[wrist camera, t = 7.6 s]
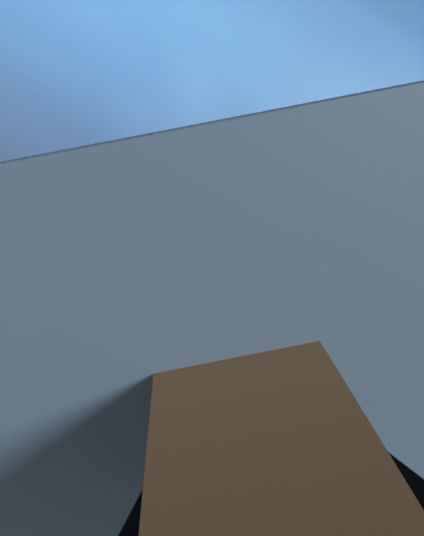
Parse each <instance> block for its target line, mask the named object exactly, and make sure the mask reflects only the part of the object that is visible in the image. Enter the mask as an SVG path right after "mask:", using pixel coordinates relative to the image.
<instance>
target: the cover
mask: <svg viewBox="0 0 424 536" xmlns="http://www.w3.org/2000/svg"><path fill="white" fill-rule="evenodd" d="M388 452H389V453H391V454H392V455H393V456H394V457H396V458H397V459H398V460H400V461H401V462H402V463H404V464H405V465H406V466H408V467H409V468H410V469H411V470H413V471H414V472H415V473H417V474H418V475H419V476H421V477H422V478H423V479H424V81H418V82H413V83H408V84H403V85H398V86H392V87H387V88H382V89H377V90H372V91H366V92H361V93H356V94H351V95H346V96H340V97H335V98H330V99H325V100H320V101H314V102H309V103H304V104H299V105H294V106H289V107H283V108H278V109H273V110H268V111H263V112H257V113H252V114H247V115H242V116H237V117H231V118H226V119H221V120H216V121H211V122H205V123H200V124H195V125H190V126H185V127H179V128H174V129H169V130H164V131H159V132H153V133H148V134H143V135H138V136H133V137H128V138H122V139H117V140H112V141H107V142H102V143H96V144H91V145H86V146H81V147H76V148H70V149H65V150H60V151H55V152H50V153H44V154H39V155H34V156H29V157H24V158H18V159H13V160H8V161H3V162H0V536H118V535H119V533H120V531H121V529H122V527H123V525H124V523H125V521H126V519H127V518H128V516H129V514H130V512H131V510H132V508H133V506H134V504H135V502H136V500H137V498H138V497H139V495H140V493H141V491H142V489H143V493H142V503H141V514H140V525H139V536H424V510H423V508H422V506H421V505H420V503H419V502H418V500H417V498H416V497H415V495H414V493H413V492H412V490H411V489H410V487H409V485H408V484H407V482H406V480H405V479H404V477H403V476H402V474H401V472H400V471H399V469H398V467H397V466H396V464H395V462H394V461H393V459H392V458H391V456H390V454H389V453H388Z"/></svg>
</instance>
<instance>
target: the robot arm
mask: <svg viewBox="0 0 424 536" xmlns="http://www.w3.org/2000/svg"><path fill="white" fill-rule="evenodd" d="M388 453H389V452H388ZM389 454H390V456H391V458H392V459H393V461H394V462H395V464H396V466H397V467H398V469H399V471H400V472H401V474H402V476H403V477H404V479H405V480H406V482H407V484H408V485H409V487H410V489H411V490H412V492H413V493H414V495H415V497H416V498H417V500H418V502H419V503H420V505H421V506H422V508H423V510H424V479H423V478H422V477H421V476H419V475H418V474H417V473H415V472H414V471H413V470H411V469H410V468H409V467H408V466H406V465H405V464H404V463H402V462H401V461H400V460H398V459H397V458H396V457H394V456H393V455H392V454H391V453H389ZM142 493H143V489H142V491H141V493H140V495H139V497H138V498H137V500H136V502H135V504H134V506H133V508H132V510H131V512H130V514H129V516H128V518H127V519H126V521H125V523H124V525H123V527H122V529H121V531H120V533H119V535H118V536H139V525H140V514H141V503H142Z"/></svg>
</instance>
